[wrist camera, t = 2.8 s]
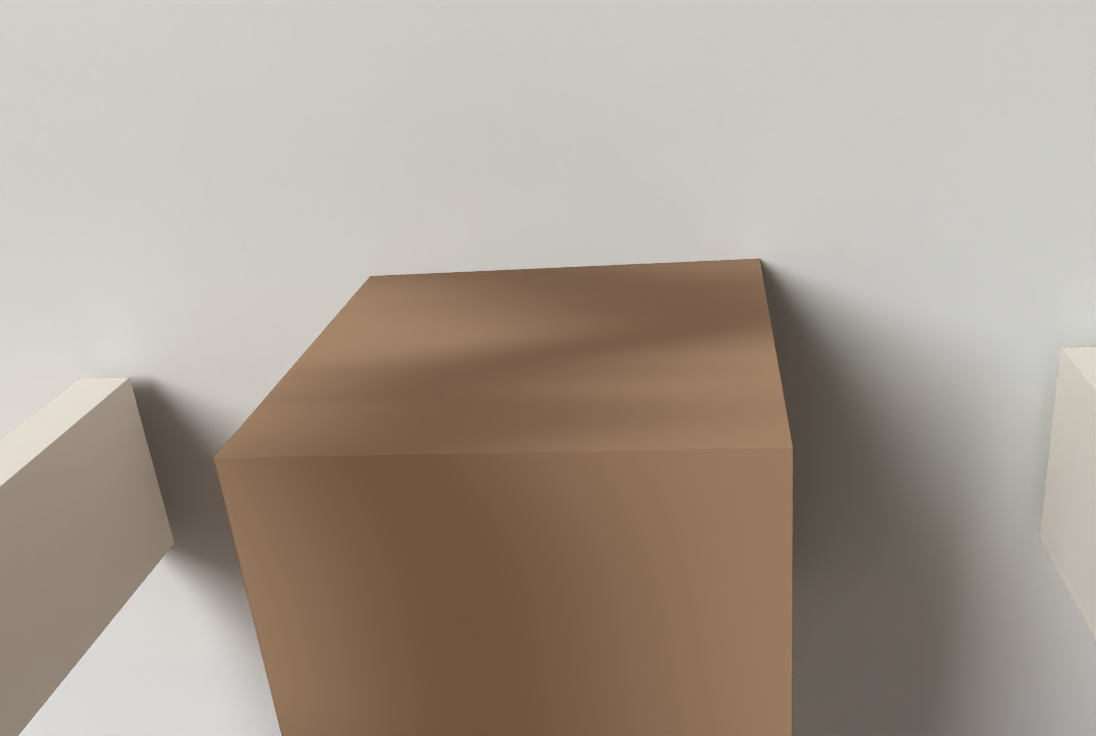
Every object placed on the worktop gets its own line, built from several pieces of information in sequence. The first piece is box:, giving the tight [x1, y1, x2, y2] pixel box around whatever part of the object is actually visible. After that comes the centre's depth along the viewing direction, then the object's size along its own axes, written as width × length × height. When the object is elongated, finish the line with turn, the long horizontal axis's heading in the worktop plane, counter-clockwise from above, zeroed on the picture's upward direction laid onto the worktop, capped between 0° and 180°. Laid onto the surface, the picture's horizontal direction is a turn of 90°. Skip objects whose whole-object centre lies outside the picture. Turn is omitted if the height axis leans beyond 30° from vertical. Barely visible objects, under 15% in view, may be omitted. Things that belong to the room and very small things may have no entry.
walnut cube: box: [214, 259, 793, 736], centre depth 12 cm, size 5×5×5 cm
